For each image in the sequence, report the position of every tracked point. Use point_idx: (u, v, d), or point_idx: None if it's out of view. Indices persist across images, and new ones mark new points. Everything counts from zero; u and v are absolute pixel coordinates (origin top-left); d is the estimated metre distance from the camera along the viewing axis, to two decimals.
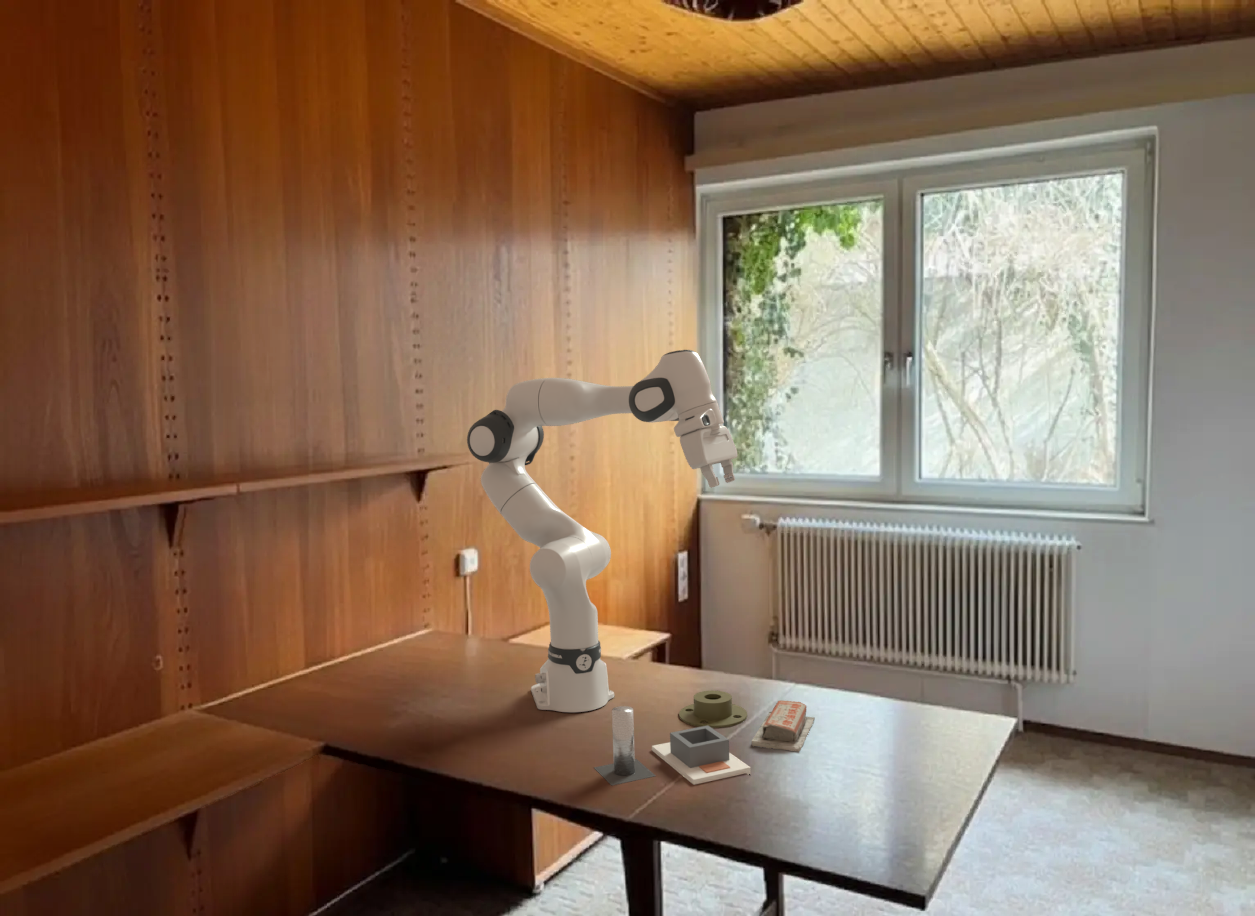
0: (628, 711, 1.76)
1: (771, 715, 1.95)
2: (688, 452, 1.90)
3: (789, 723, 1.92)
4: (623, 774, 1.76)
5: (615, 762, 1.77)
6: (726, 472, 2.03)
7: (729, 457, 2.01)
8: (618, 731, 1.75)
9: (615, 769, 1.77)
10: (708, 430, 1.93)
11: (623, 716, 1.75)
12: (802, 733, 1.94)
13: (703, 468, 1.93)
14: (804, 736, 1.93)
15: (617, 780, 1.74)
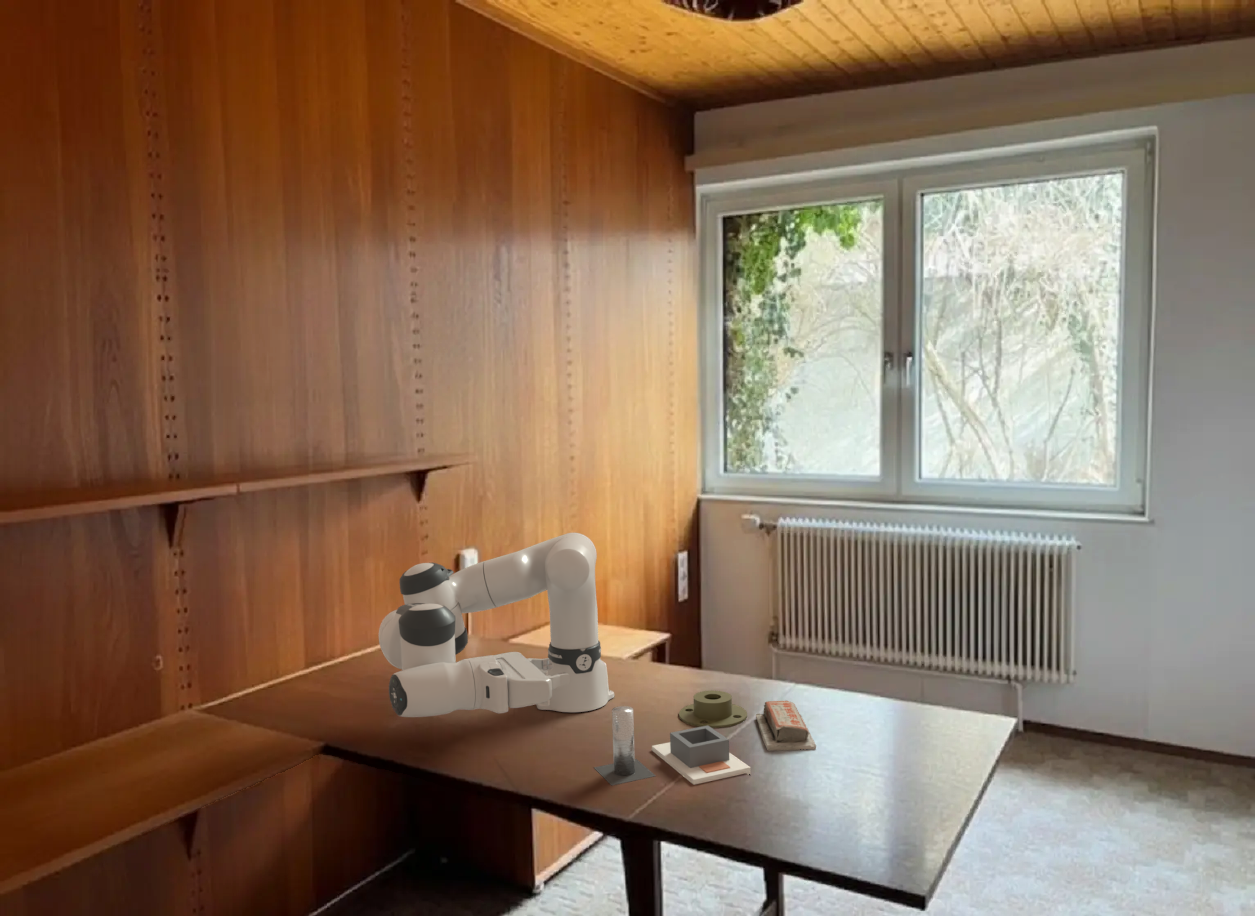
0: (628, 711, 1.76)
1: (774, 717, 1.94)
2: (533, 699, 1.59)
3: (797, 722, 1.92)
4: (623, 774, 1.76)
5: (615, 762, 1.77)
6: (539, 666, 1.75)
7: (526, 659, 1.73)
8: (618, 731, 1.75)
9: (615, 769, 1.77)
10: (506, 672, 1.62)
11: (623, 716, 1.75)
12: None
13: None
14: (809, 733, 1.94)
15: (617, 780, 1.74)
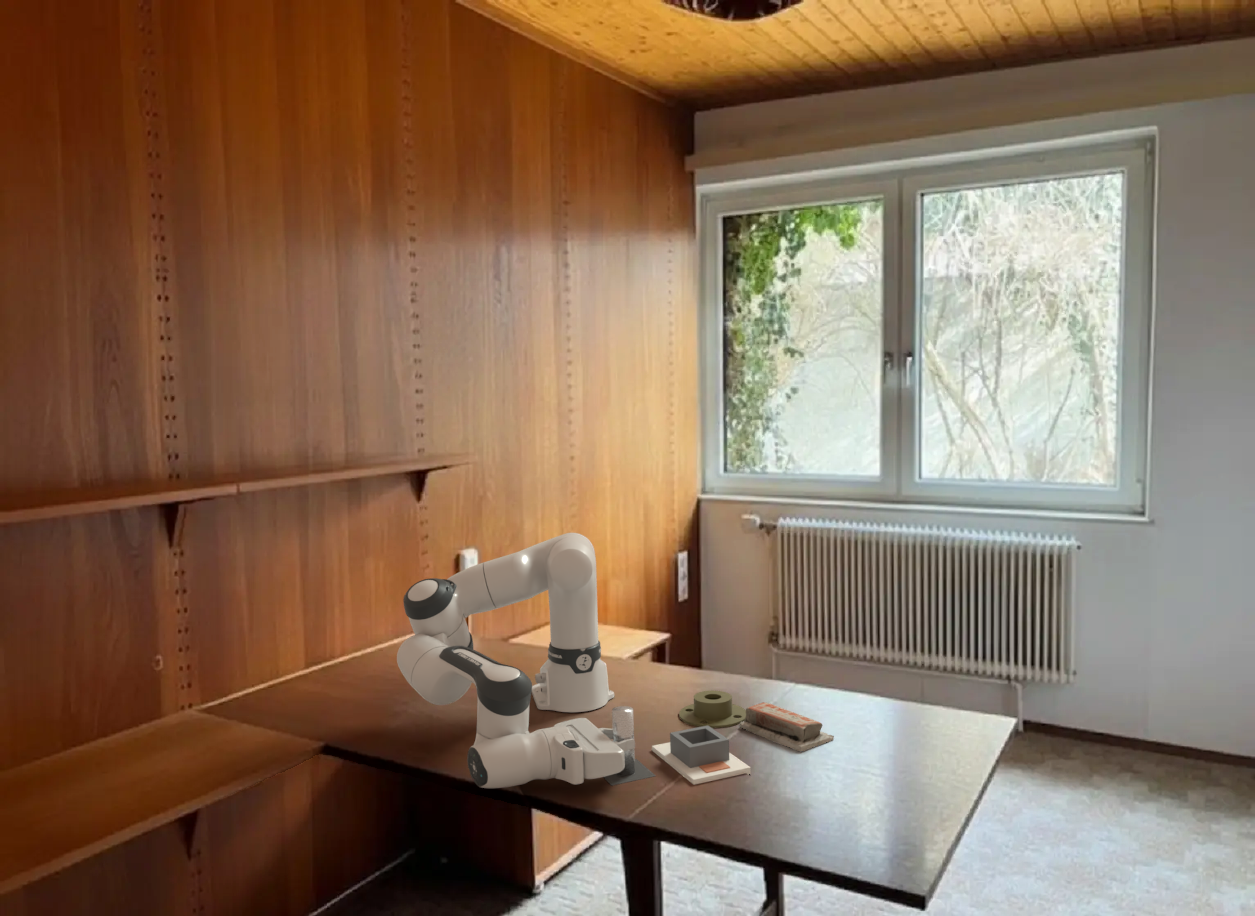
0: (628, 711, 1.76)
1: (783, 719, 1.93)
2: (607, 770, 1.66)
3: (807, 718, 1.94)
4: (623, 774, 1.76)
5: None
6: (611, 736, 1.80)
7: (594, 726, 1.79)
8: (618, 731, 1.75)
9: None
10: (580, 743, 1.68)
11: (623, 716, 1.75)
12: None
13: None
14: None
15: (617, 780, 1.74)
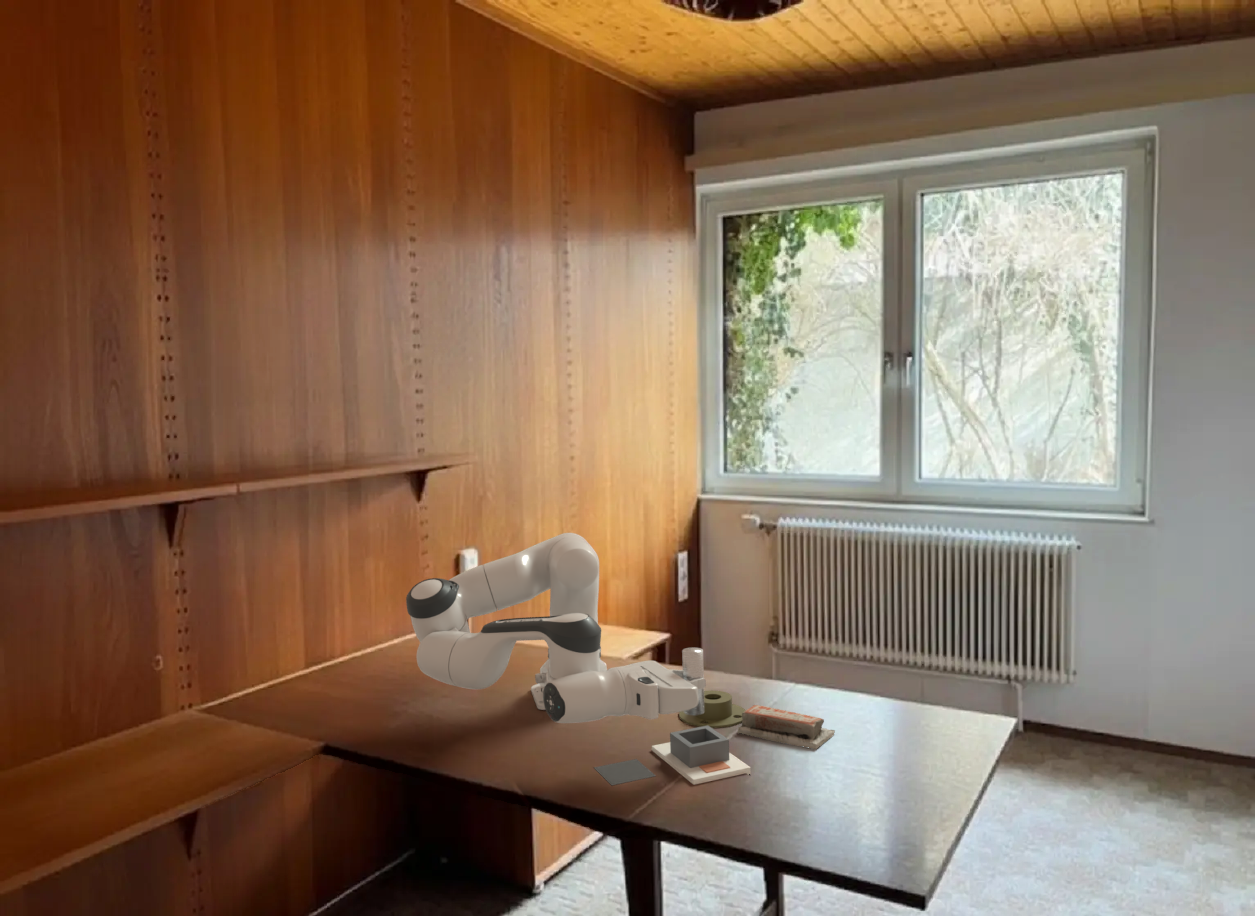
0: (699, 651, 1.79)
1: (788, 719, 1.93)
2: (682, 706, 1.68)
3: (808, 716, 1.95)
4: (693, 713, 1.79)
5: None
6: None
7: (664, 667, 1.82)
8: (688, 671, 1.78)
9: None
10: (654, 680, 1.71)
11: (693, 656, 1.78)
12: None
13: None
14: None
15: (617, 780, 1.74)
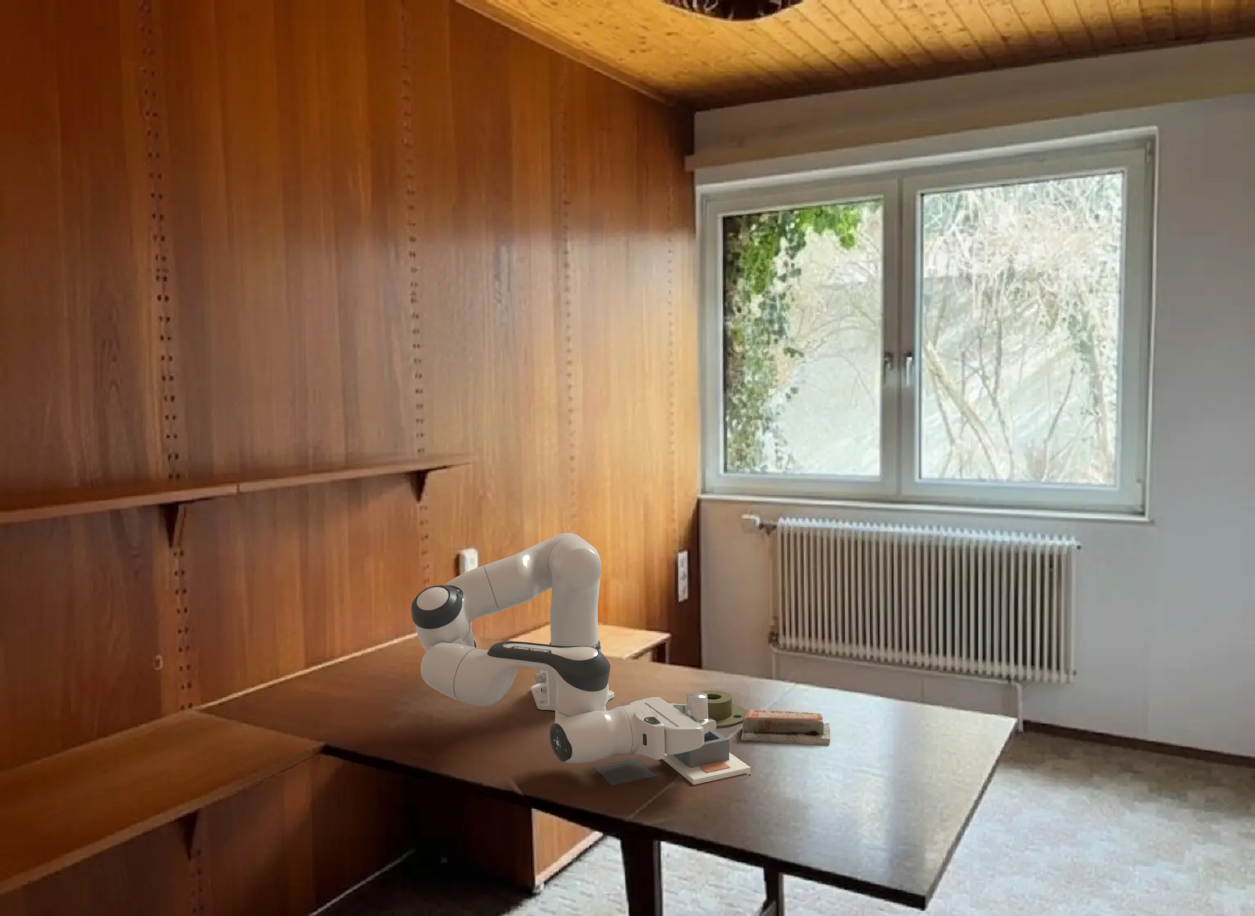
0: (703, 697, 1.80)
1: (794, 718, 1.93)
2: (688, 746, 1.69)
3: (807, 713, 1.97)
4: None
5: None
6: (680, 711, 1.85)
7: (669, 704, 1.83)
8: (693, 716, 1.79)
9: None
10: (660, 720, 1.72)
11: (698, 702, 1.79)
12: None
13: None
14: None
15: (617, 780, 1.74)
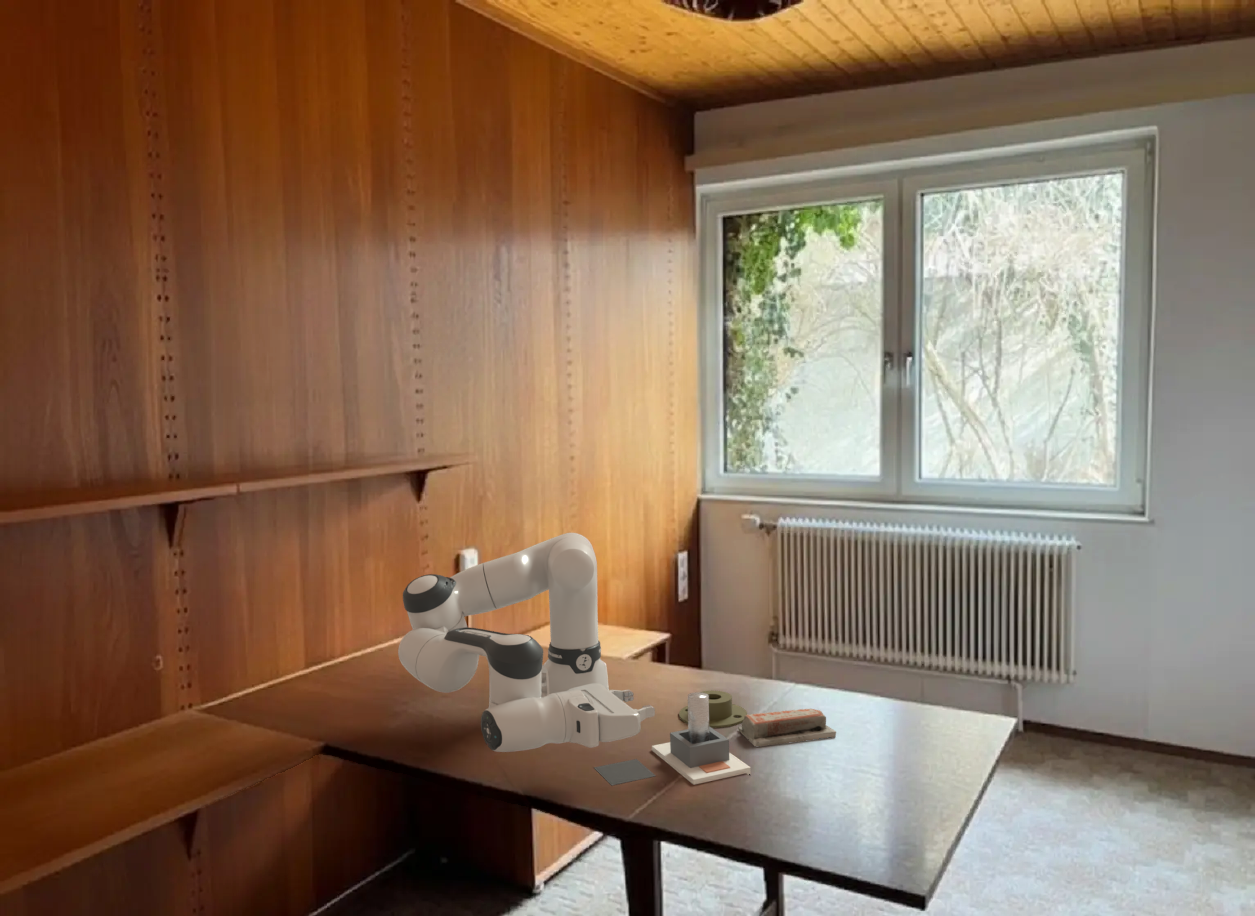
0: (704, 697, 1.80)
1: (798, 716, 1.94)
2: (623, 733, 1.63)
3: (801, 709, 1.99)
4: None
5: None
6: (621, 698, 1.79)
7: (608, 691, 1.77)
8: (694, 716, 1.79)
9: None
10: (595, 706, 1.66)
11: (699, 702, 1.79)
12: None
13: None
14: None
15: (617, 780, 1.74)
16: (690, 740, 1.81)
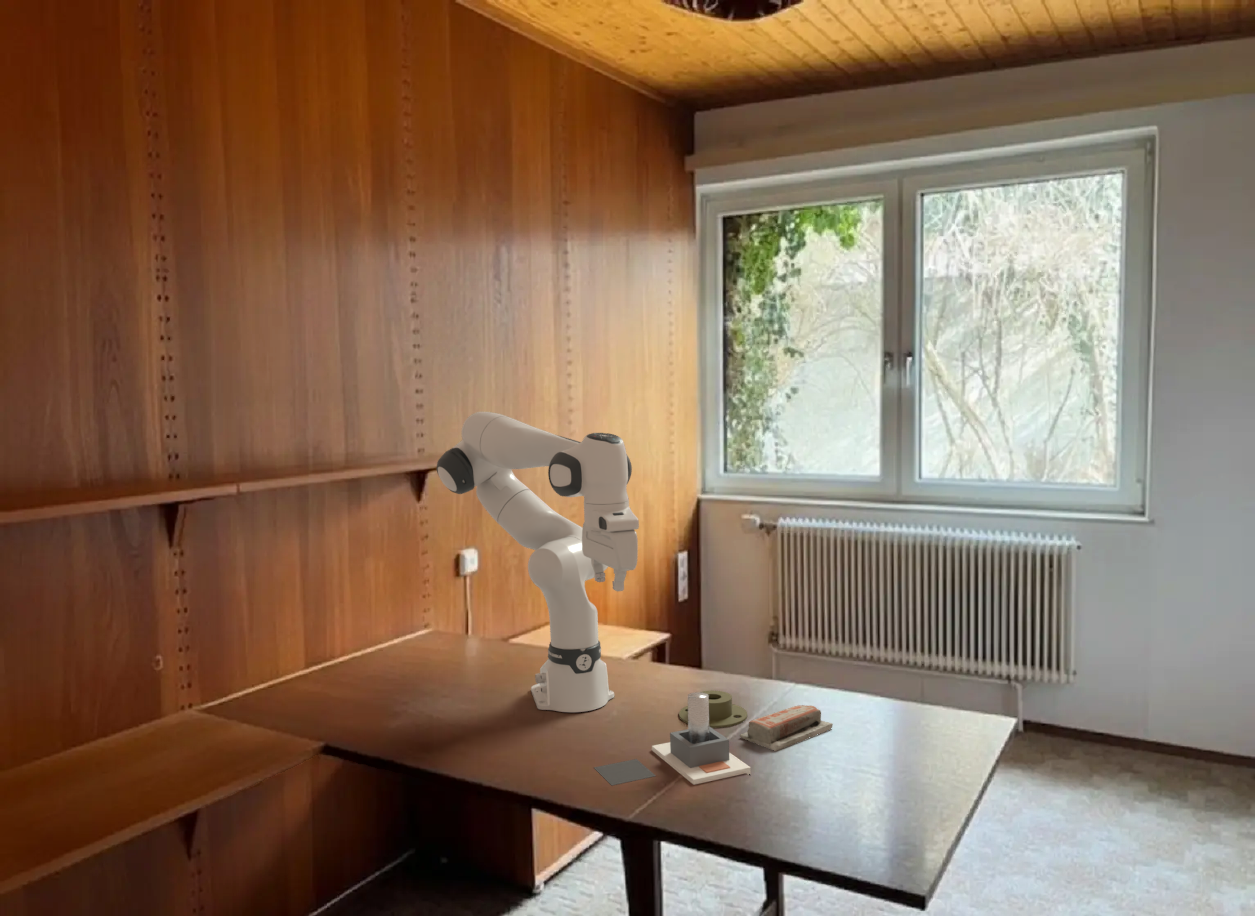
0: (704, 697, 1.80)
1: (800, 714, 1.95)
2: (622, 553, 1.75)
3: (793, 707, 2.00)
4: None
5: None
6: (597, 570, 1.89)
7: None
8: (694, 716, 1.79)
9: None
10: None
11: (699, 702, 1.79)
12: None
13: (619, 570, 1.79)
14: None
15: (617, 780, 1.74)
16: (690, 740, 1.81)
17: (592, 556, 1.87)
